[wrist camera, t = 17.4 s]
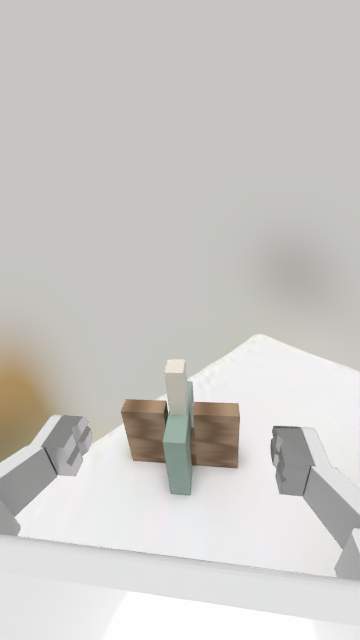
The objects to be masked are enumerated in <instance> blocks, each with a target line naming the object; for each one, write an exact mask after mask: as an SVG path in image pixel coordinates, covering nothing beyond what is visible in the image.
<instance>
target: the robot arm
mask: <svg viewBox="0 0 360 640" xmlns="http://www.w3.org/2000/svg"><path fill="white" fill-rule="evenodd" d="M87 424H88V420H87V418H86V417H79V416H67V415H53V416H51V417H50V418H49V420H48V421H47V422H46V424H45V425H44V427H43V428H42V429H41V431H40V432H39V433H38V435H37V436H36V437H35V439H34V440H33V442H32V443H31V444H30V446H25V447H24V448H22V449H21V450H19V451H18V452H16V453H15V454H14V455H12V456H10V457H9V458H7V459H6V460H4V461H3V462H1V463H0V640H360V489H359V488H358V487H357V486H356V485H354V484H353V483H352V482H351V481H350V480H349V479H348V478H347V477H346V476H344V475H343V474H342V473H341V472H340V471H339V470H338V469H337V468H332V466H331V464H330V462H329V460H328V457H327V455H326V453H325V450H324V448H323V446H322V444H321V441H320V439H319V437H318V434H317V432H316V430H315V429H314V428H309V427H292V426H274V427H273V430H272V433H273V437H274V438H273V439H271V457H272V462H273V465H274V466H275V467H276V468H277V469H276V481H277V485H278V489H279V494H285V495H294V496H303V498H304V500H305V501H306V502H307V503H308V505H309V506H310V507H311V509H312V510H313V511H314V513H315V514H316V515H317V517H318V518H319V519H320V520H321V522H322V523H323V524H324V526H325V527H326V528H327V530H328V531H329V532H330V533H331V535H332V536H333V537H334V539H335V540H336V541H337V543H338V544H339V545H340V546H341V548H342V549H343V551H342V554H341V556H340V558H339V560H338V562H337V564H336V566H335V571H336V574H337V578H336V577H329V576H321V575H313V574H305V573H298V572H290V571H282V570H274V569H267V568H259V567H251V566H244V565H236V564H228V563H220V562H213V561H205V560H197V559H189V558H182V557H174V556H166V555H158V554H151V553H143V552H135V551H128V550H120V549H112V548H104V547H97V546H89V545H81V544H73V543H66V542H58V541H50V540H42V539H34V538H27V537H19V536H17V535H18V533H19V531H20V524H19V523H18V522H17V520H16V519H15V516H16V515H17V514H18V513H19V512H20V511H21V510H22V509H23V508H24V507H25V506H27V505H28V504H29V503H30V502H31V501H32V500H33V499H34V498H35V497H36V496H37V495H38V494H39V493H40V492H41V491H42V490H43V489H44V488H45V487H47V486H48V485H49V484H50V483H51V482H52V481H53V480H54V479H55V478H56V477H57V475H64V476H76V475H77V472H78V470H79V468H80V466H81V464H82V462H83V457H82V456H83V455H84V454H85V453H87V452H88V450H89V448H90V446H91V442H92V431H91V429H90V428H89V427H88V426H87Z"/></svg>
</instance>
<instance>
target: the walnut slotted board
mask: <svg viewBox="0 0 360 640" xmlns="http://www.w3.org/2000/svg"><path fill="white" fill-rule="evenodd" d="M121 414H122V418H123V422H124V426H125V430H126V434H127V438H128V442H129V446H130V450H131V454H132V457H133V460H135V461H148V462H162V463H166V459H165V453H164V447H163V438H164V433H165V429H166V424H167V419H168V409H167V402H166V401H157V400H130V399H126V401H125V403H124V405H123V407H122V410H121ZM193 419H194V428H192V430H191V441H190V449H191V461H192V465H202V466H215V467H229V468H237V465H238V444H239V423H240V414H239V405H238V404H237V403H210V402H194V412H193Z"/></svg>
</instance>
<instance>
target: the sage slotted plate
mask: <svg viewBox="0 0 360 640" xmlns="http://www.w3.org/2000/svg"><path fill="white" fill-rule="evenodd" d="M164 373H165V381H166V389H167V397H168V404H169V414H168V419H167V424H166V429H165V433H164V438H163V447H164V453H165V459H166V466H167V472H168V478H169V485H170V491H171V494H181V495H190V491H191V479H192V461H191V449H190V441H191V430H192V428H194V419H193V412H194V400H193V385H192V382H187V377H186V364H185V360H178V359H176V360H175V359H168V361H167V365H166V369H165V372H164Z"/></svg>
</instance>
